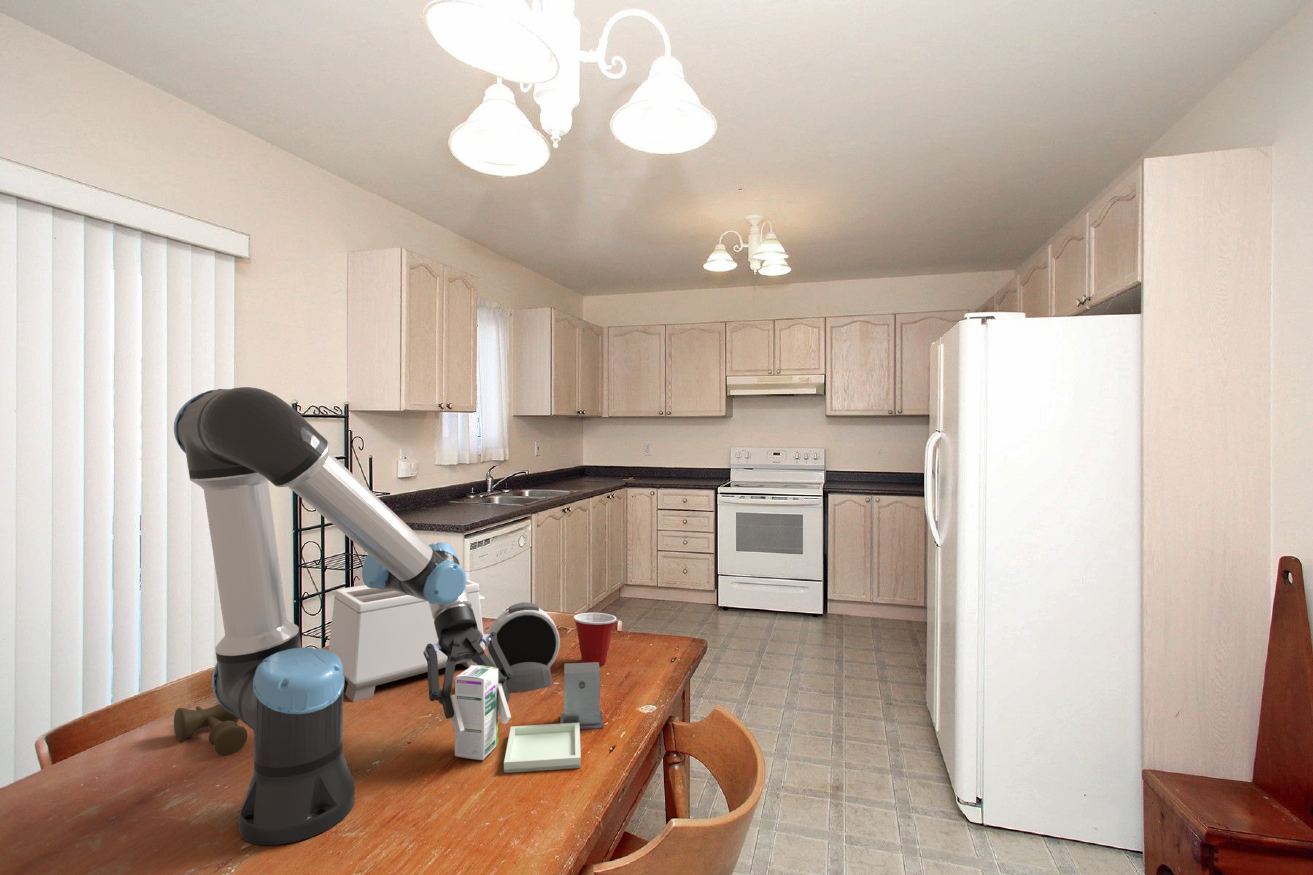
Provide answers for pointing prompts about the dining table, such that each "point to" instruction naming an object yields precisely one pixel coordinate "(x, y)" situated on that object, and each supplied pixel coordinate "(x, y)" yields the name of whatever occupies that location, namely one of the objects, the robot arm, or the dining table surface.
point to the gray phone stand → (582, 695)
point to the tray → (543, 747)
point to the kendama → (211, 727)
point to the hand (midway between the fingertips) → (484, 726)
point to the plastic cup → (594, 636)
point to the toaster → (386, 636)
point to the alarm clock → (527, 645)
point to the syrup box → (477, 711)
